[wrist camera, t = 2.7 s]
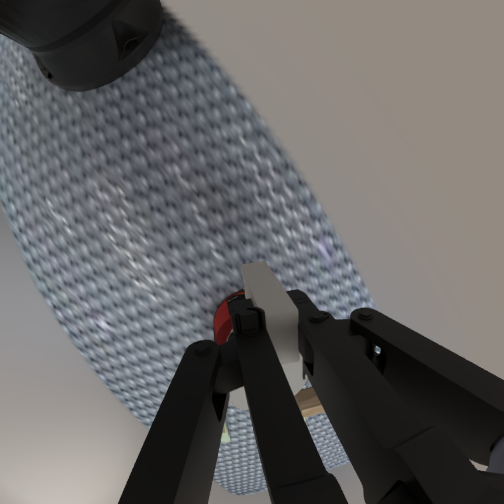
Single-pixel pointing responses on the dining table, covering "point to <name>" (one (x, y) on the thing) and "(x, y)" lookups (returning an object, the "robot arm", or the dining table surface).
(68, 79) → the robot arm
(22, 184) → the dining table surface
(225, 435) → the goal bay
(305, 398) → the lane
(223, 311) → the canned food
